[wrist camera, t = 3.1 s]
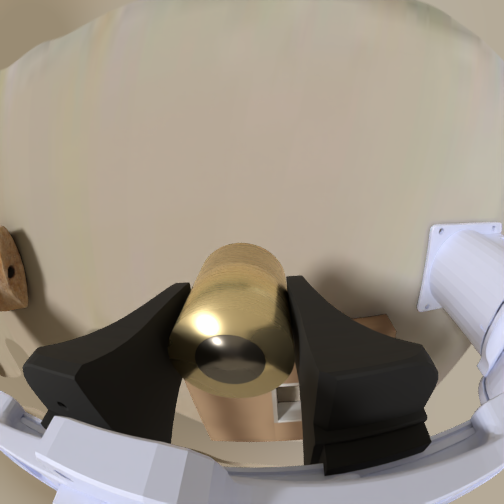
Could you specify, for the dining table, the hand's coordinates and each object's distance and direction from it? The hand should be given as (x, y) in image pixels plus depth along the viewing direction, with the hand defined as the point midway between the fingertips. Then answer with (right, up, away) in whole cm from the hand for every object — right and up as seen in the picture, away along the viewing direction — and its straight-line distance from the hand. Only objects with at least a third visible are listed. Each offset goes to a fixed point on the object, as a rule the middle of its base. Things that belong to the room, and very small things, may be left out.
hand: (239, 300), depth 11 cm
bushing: (0, +1, +1) cm, 2 cm away
